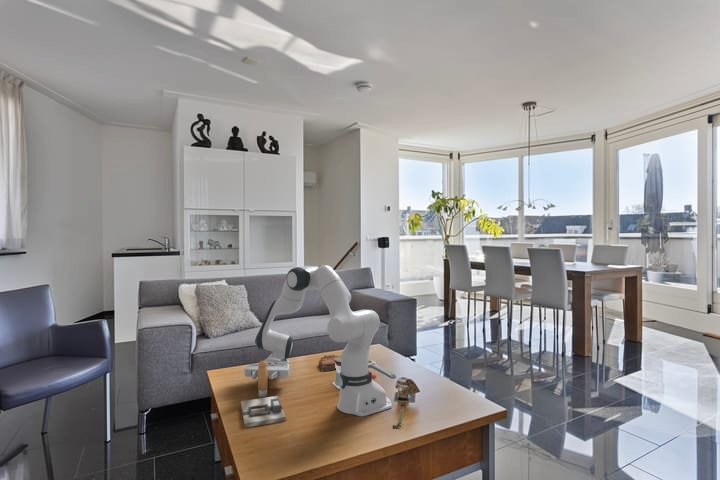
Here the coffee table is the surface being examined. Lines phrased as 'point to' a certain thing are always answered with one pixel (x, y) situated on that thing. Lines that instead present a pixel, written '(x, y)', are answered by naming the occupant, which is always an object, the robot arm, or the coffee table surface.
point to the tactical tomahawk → (400, 416)
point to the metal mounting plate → (260, 412)
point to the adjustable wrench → (380, 368)
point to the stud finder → (275, 405)
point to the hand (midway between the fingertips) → (262, 377)
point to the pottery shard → (327, 363)
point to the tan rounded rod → (262, 378)
